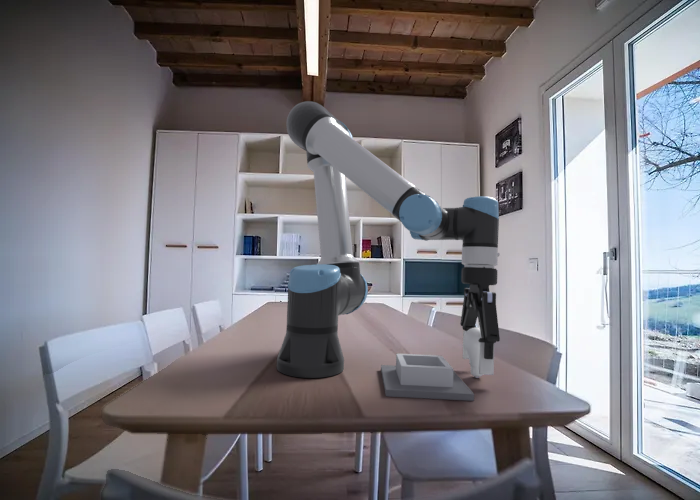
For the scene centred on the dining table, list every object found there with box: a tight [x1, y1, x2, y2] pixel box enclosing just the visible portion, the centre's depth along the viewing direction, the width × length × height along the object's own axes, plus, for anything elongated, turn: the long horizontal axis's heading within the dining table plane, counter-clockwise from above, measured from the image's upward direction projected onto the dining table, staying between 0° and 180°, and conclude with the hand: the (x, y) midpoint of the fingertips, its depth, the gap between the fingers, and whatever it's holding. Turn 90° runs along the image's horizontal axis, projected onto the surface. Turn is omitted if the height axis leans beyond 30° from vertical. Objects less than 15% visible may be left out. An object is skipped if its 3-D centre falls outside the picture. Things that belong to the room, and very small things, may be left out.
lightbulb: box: [462, 327, 484, 379], centre depth 78 cm, size 6×6×11 cm
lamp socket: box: [380, 353, 475, 402], centre depth 72 cm, size 16×16×5 cm
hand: (476, 365), depth 78 cm, fingers open, 11 cm apart
